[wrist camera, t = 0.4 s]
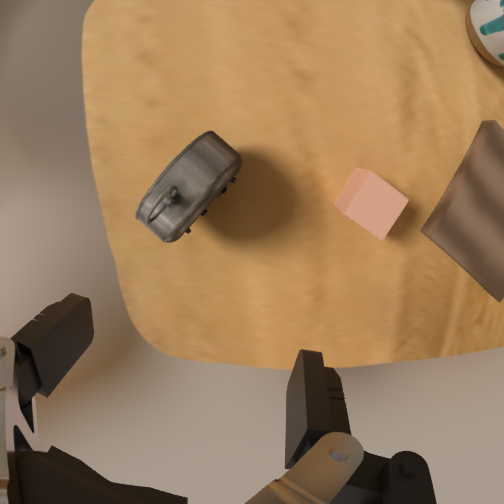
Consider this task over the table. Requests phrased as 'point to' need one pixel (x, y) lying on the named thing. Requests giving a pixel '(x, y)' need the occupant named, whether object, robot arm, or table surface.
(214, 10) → the table surface
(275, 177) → the table surface
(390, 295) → the table surface
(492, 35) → the vase
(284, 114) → the table surface
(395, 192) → the pink block
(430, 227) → the walnut base
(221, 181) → the alarm clock
